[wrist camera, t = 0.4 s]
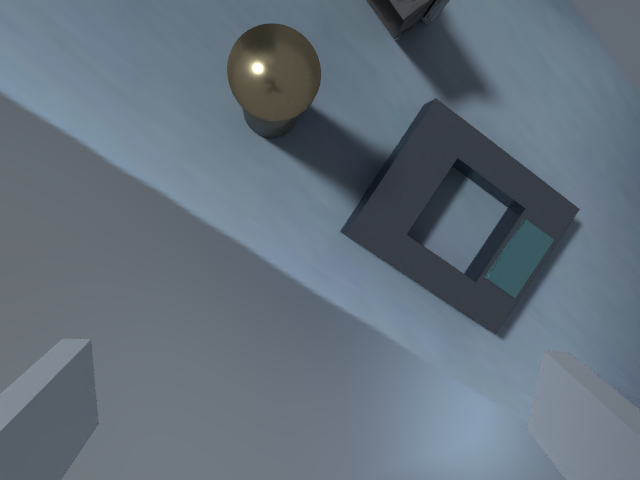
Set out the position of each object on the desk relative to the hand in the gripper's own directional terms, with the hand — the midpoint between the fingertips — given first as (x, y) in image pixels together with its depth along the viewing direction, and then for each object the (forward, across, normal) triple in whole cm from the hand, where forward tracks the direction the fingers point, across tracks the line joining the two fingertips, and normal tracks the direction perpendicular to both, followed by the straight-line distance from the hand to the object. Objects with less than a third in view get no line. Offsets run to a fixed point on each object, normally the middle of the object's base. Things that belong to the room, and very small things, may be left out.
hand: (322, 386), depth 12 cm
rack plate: (+25, +13, 0) cm, 28 cm away
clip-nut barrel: (+25, -3, +9) cm, 27 cm away
